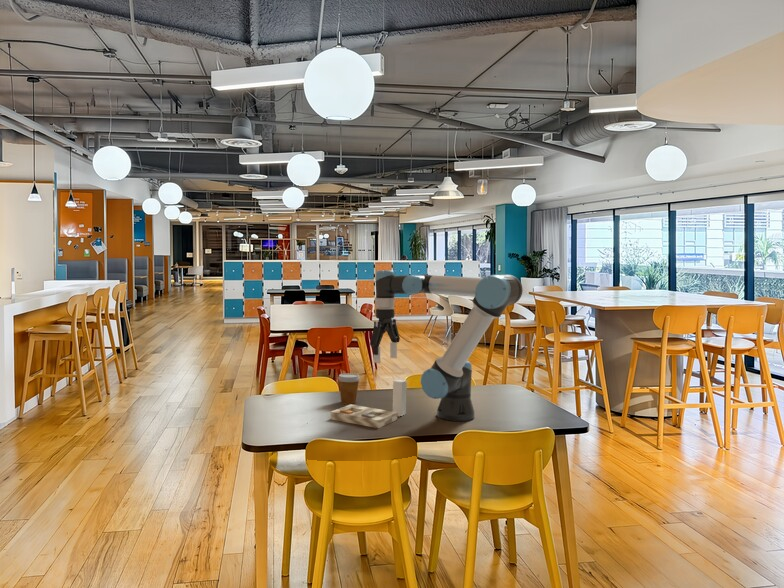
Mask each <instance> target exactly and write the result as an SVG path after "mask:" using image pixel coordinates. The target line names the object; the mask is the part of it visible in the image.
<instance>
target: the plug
mask: <svg viewBox="0 0 784 588" xmlns="http://www.w3.org/2000/svg"><path fill="white" fill-rule="evenodd" d="M392 382H393V383H392V412H397V417H400V416H402V417H404V416H406V415H405V414H407V387H408V385H407V384H408V383H407V380H406V379H395V380H393V381H392ZM403 415H404V416H403Z"/></svg>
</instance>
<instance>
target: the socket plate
mask: <svg viewBox="0 0 784 588" xmlns="http://www.w3.org/2000/svg"><path fill="white" fill-rule="evenodd" d="M330 420H333V421H338V422H342V423H343V422H344V423H349V424H355V425H360V426H365V427H370V428H374V429H380V428H383V427H384V426H387V425H389V424H391V423H393V422H396V421H397V420H398V416H397V412H393V410H385V409H381V408H375V407H369V406H362V405H357V404H346V405H345V406H343V407H340V408H337V409H334V410H332V411H330Z"/></svg>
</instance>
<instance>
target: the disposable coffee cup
mask: <svg viewBox="0 0 784 588" xmlns="http://www.w3.org/2000/svg"><path fill="white" fill-rule="evenodd" d="M337 380H338V383H339V393H340V403H341V404H343V405H350V404H352V405H355V404H356V403H357V396H358V388H359V383H360V382H359V381H360V380H361V378H360V375H359V374H358V373H350V372H349V373H345V372H344V373H340V374H339V375H338V377H337Z"/></svg>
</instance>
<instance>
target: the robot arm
mask: <svg viewBox="0 0 784 588" xmlns="http://www.w3.org/2000/svg"><path fill="white" fill-rule="evenodd" d="M523 291H524V290H523V285H522V282H521V281H520V280H519V279H518V277H516V276H514V275H512V274H491V275H490V274H489V275H488V276H485V277H474V276H473V277H467V276H451V275H437V274H436V275H434V274H433V275H431V274H426V273H425V274H409V275H405V274H403V275H402V274H400V275H396V274H395V271H394V270H389V269H387V270H383V269H382V270H377V271H376V272H375V308H376V309H375V318H377V319H378V321H376V320H375V321H374V322H373V330H372V333H371V338H370V341H369V345H370V347H373V348H372V351H373V363H374V364H381V346H380V345H381V342H382V339H383V336H384V334H385V333H387V335H388V337H389V339H390V343H389V349H390V350H389V352H390V353H389V354H390V359H397V358H398V343H400V340H401V337H400V333H399V331H398V326H397V319H396V318H395V309H394V308H395V295H408V296H409V295H410V296H413V295H419V294H435V295H445V296H446V295H448V296H460V297H472V298H473V299H472V303H473V304H472V305H473V307H472V309H471V310H470V311H469V313H468V314H467V316H466V318H465V319H464V322H463V323H462V324H461V326H460V328H459V329H458V331H457V332H456V333H455V336H454V337H453V339H452V341H451V342H450V343H449V346H448V347H447V349H446V351H445V352H444V353H443V355H442V356H437V358H436V359H435V360H434V362H433V364H432V366H431V367H430V368H427V369H426V370H425V371H424V372H423V373H422V374H421V376H420V385H421V389H422V392H424V394H425V395H426V396H427V397H429V398H431V399H433V400H435V399H437V400H438V399H440V401H439V404H438V407H437V409H436V417H438V418H439V419H442V420H444V421H451V422H452V421H453V422H464V421H465V422H466V421H470V420H473V419H474V418H475V409H474V405H473V401H472V397H471V395H472V374H473V373H472V372H473V369H472V363H471V362H470V361H469V358H470V357H471V355H472V353H473V352H474V351H475V349H476V347H477V346H478V345H479V342H480V341H481V340H482V338H483V336H484V335H485V333H486V332H487V330H488V329H489V327H490V326H491V324H492V322H493V321H494V319H498V318H500V317H501V316H502V315H503V313H504V312H505V310H506V309H507V307H509V306H512V305H514V304H517V302H518V301H519V300H520V299H521V298H522V296H523Z"/></svg>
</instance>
